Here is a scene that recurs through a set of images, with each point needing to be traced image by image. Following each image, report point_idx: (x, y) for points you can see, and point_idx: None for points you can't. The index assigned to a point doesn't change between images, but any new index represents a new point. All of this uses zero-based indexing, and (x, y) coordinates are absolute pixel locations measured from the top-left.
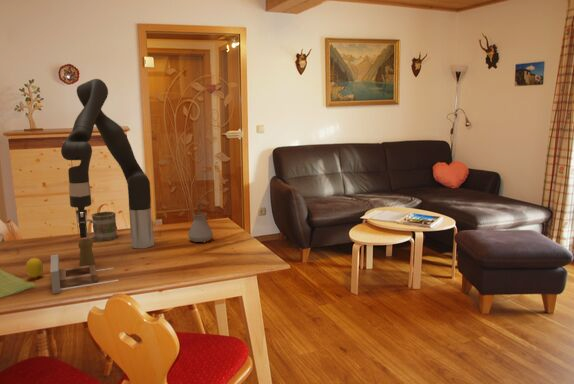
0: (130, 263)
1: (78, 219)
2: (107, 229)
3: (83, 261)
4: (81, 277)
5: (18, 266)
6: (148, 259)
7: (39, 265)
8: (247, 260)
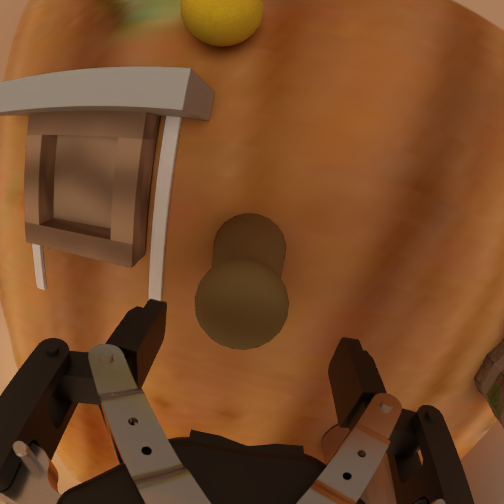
0: (191, 375)
1: (109, 429)
2: (497, 393)
3: (220, 240)
4: (25, 188)
5: (436, 26)
6: (203, 417)
7: (186, 23)
8: None
